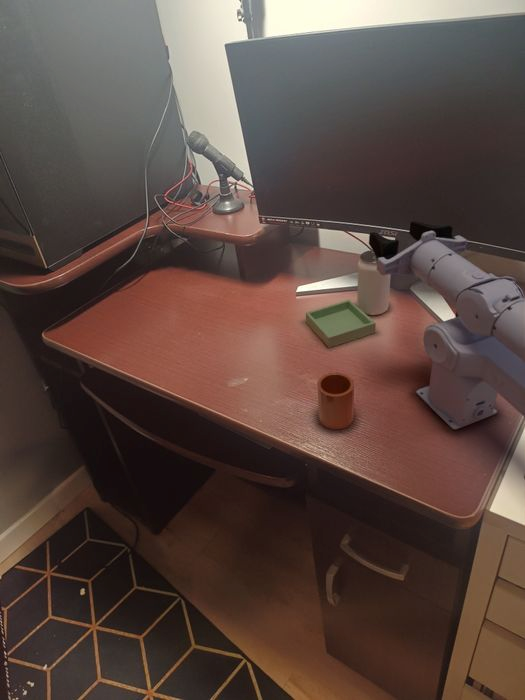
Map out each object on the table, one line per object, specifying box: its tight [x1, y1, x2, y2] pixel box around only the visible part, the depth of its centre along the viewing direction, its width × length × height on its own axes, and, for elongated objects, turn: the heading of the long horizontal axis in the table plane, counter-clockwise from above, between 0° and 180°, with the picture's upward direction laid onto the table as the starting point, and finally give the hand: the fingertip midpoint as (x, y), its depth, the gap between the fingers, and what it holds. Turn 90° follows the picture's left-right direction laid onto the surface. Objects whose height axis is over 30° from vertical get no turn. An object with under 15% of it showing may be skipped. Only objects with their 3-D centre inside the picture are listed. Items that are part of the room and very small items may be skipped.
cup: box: [316, 372, 355, 430], centre depth 72 cm, size 5×5×7 cm
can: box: [356, 249, 392, 316], centre depth 94 cm, size 6×6×12 cm
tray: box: [305, 299, 377, 348], centre depth 93 cm, size 10×10×2 cm
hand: (391, 232), depth 76 cm, fingers open, 7 cm apart
